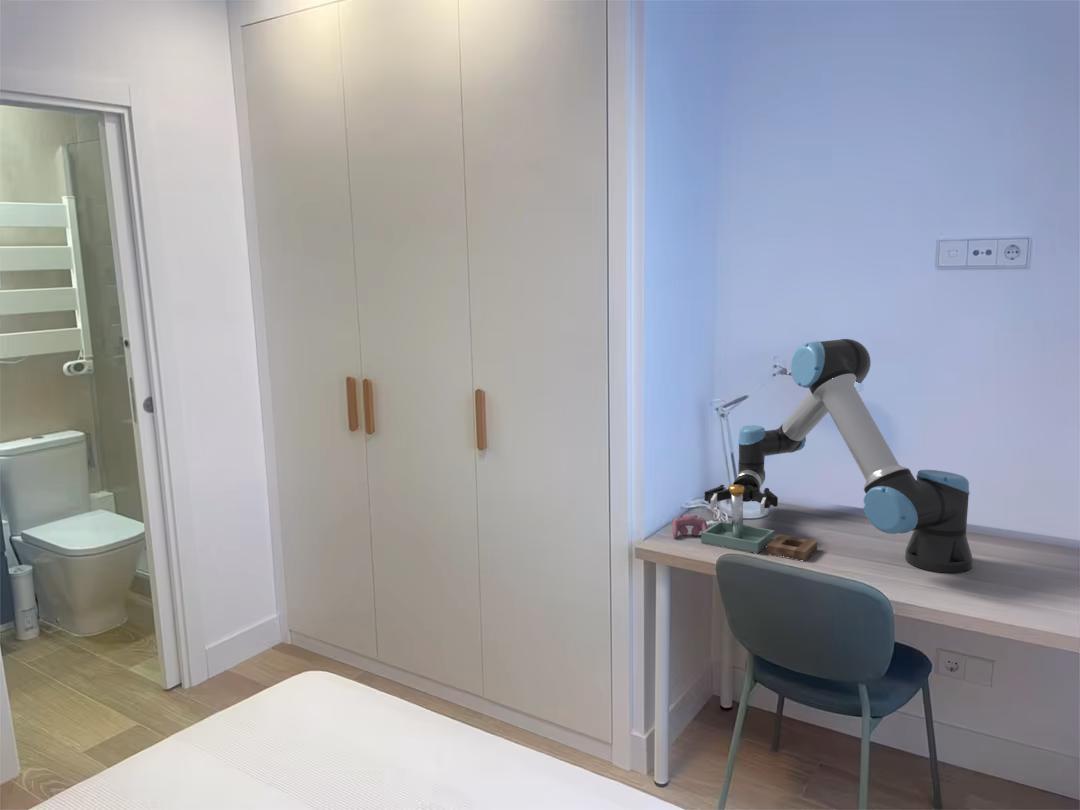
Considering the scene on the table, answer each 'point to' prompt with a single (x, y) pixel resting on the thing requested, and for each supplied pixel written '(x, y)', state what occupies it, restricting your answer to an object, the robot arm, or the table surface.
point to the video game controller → (688, 520)
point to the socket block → (792, 547)
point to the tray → (723, 537)
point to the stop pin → (737, 510)
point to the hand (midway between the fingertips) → (736, 506)
